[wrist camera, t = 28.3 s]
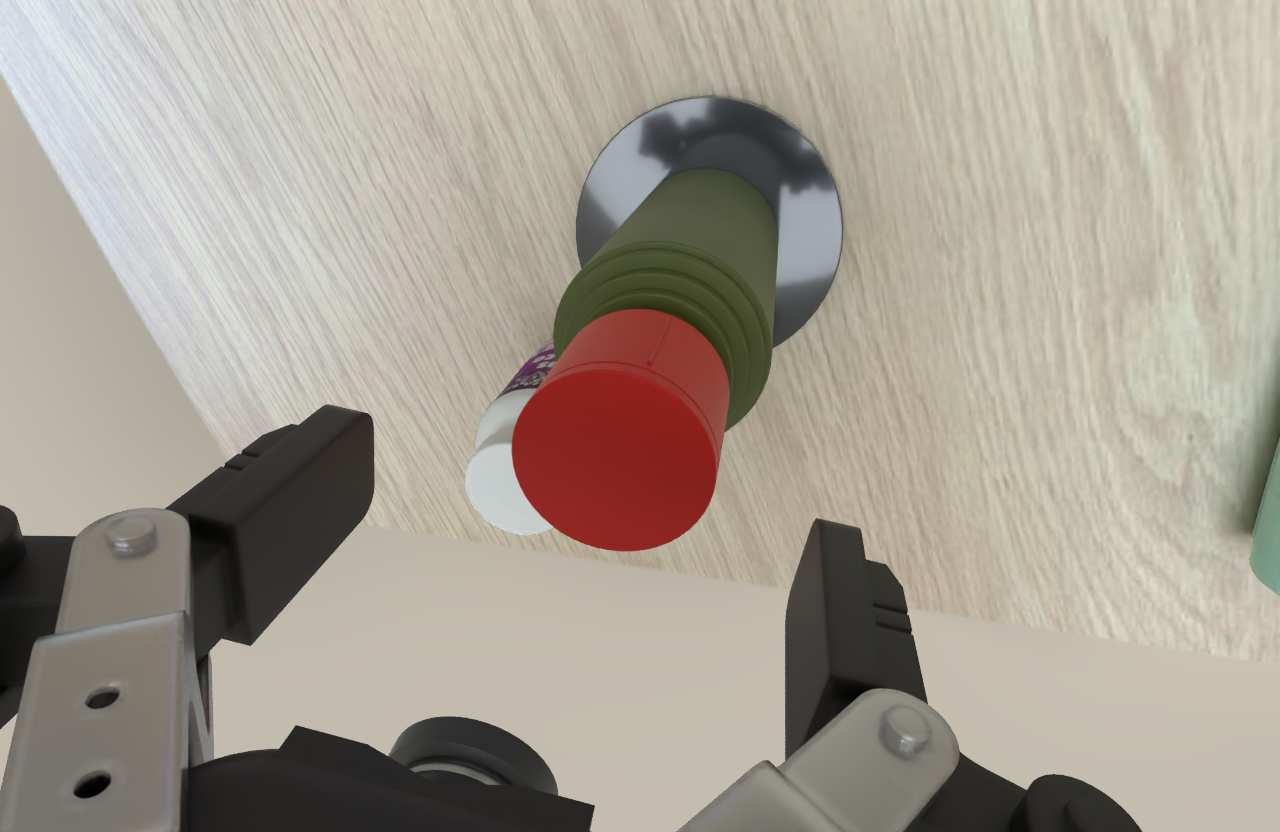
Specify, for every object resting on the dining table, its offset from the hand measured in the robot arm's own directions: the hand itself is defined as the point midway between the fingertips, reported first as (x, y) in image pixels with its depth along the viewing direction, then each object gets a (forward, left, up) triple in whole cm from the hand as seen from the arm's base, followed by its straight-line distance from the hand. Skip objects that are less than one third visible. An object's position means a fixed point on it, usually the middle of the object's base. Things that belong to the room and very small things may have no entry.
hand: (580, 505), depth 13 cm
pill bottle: (-7, +5, -21) cm, 23 cm away
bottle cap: (0, 0, -5) cm, 5 cm away
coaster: (0, 0, -20) cm, 20 cm away
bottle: (0, 0, -20) cm, 20 cm away
